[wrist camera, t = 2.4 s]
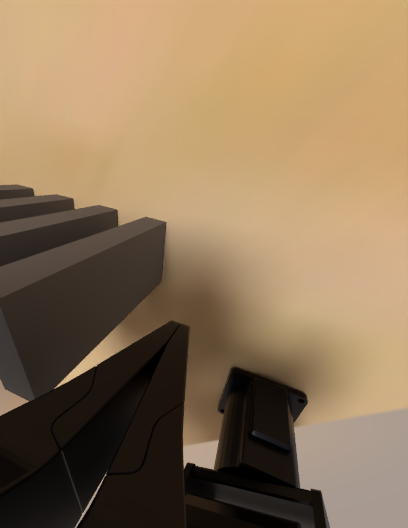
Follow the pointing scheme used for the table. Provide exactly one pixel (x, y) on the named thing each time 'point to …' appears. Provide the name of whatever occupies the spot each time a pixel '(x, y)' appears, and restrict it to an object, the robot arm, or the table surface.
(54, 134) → the table surface
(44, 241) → the domino
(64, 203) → the domino
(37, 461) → the robot arm
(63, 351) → the domino
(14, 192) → the domino
